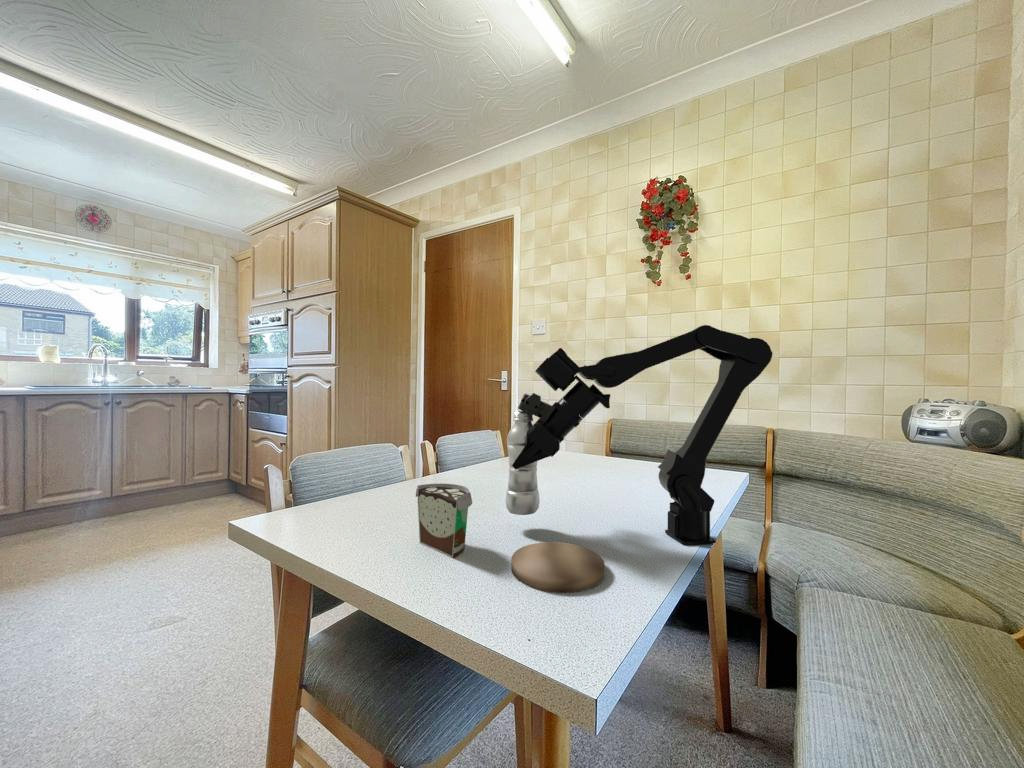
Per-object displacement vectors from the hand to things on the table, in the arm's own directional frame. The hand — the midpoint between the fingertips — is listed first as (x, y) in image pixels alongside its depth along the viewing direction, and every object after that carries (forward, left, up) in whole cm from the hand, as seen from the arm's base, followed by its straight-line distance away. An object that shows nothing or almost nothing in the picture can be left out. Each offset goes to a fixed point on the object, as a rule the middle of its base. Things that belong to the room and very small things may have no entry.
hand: (515, 464), depth 79 cm
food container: (+13, +6, -13) cm, 19 cm away
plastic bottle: (-1, 0, -10) cm, 10 cm away
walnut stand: (-3, +18, -13) cm, 23 cm away
